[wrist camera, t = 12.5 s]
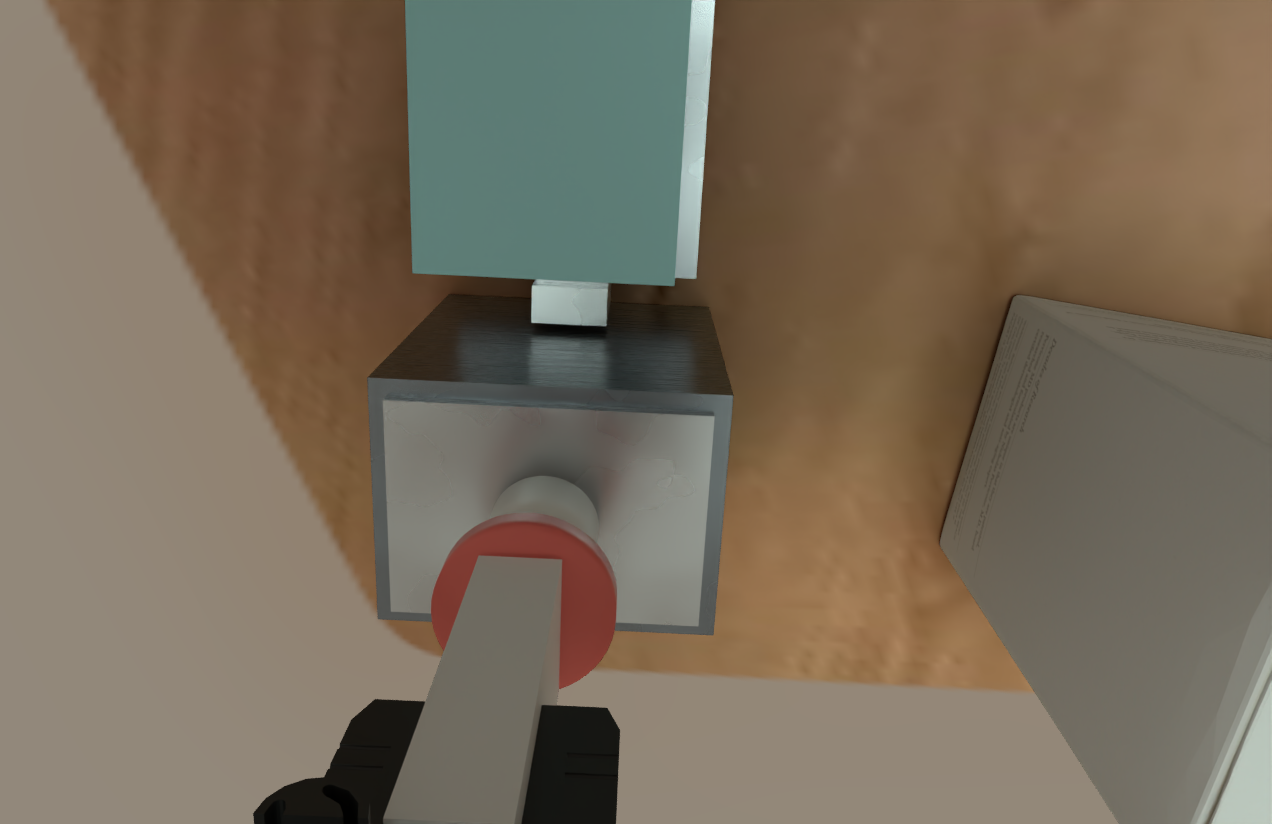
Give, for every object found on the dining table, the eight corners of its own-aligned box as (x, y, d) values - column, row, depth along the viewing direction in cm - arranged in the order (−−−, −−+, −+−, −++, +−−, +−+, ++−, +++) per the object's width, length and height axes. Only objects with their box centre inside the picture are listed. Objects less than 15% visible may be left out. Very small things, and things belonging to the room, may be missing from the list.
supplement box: (928, 549, 32) (1150, 914, 18) (1008, 287, 29) (1347, 475, 15) (1189, 593, 33) (1608, 985, 18) (1293, 340, 30) (1883, 570, 15)
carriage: (493, -56, 26) (401, -143, 16) (680, -47, 26) (699, -127, 16) (493, 210, 28) (412, 272, 18) (665, 219, 28) (674, 286, 18)
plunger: (467, 450, 21) (428, 526, 17) (624, 457, 21) (619, 535, 17) (468, 590, 22) (433, 690, 18) (618, 597, 22) (612, 698, 18)
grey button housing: (448, 294, 30) (363, 381, 21) (708, 307, 30) (734, 399, 21) (451, 475, 31) (374, 625, 23) (695, 487, 31) (714, 642, 23)
